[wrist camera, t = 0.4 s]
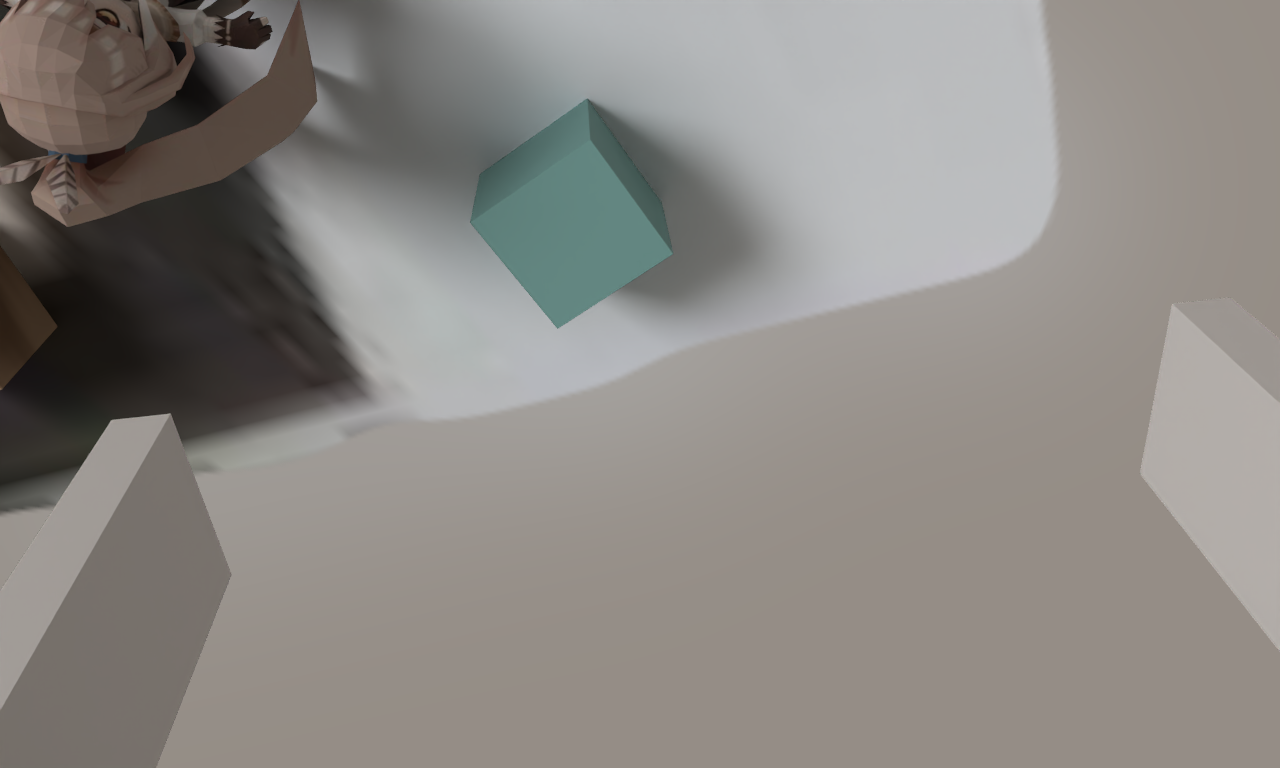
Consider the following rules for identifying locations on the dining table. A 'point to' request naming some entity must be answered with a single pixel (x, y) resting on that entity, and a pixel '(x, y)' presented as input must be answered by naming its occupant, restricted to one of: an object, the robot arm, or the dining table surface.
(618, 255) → the teal cube
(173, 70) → the toy
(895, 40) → the dining table surface
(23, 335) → the walnut cube
